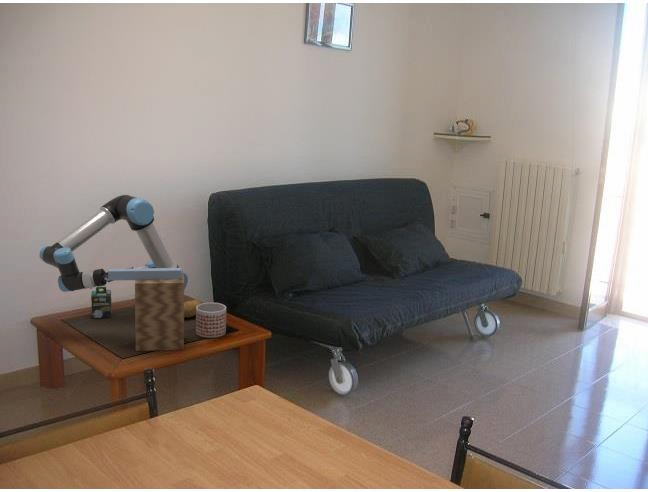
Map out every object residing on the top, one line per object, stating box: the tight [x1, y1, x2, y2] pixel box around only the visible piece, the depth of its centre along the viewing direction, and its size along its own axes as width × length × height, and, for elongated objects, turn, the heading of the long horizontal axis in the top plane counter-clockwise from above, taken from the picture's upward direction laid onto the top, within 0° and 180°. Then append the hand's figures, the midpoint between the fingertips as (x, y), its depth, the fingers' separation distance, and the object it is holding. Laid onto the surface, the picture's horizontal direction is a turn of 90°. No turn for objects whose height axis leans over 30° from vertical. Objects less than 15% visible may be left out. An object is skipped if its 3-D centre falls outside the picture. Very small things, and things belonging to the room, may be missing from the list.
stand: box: [134, 274, 185, 352], centre depth 281 cm, size 20×14×30 cm
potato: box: [184, 299, 202, 319], centre depth 319 cm, size 10×14×8 cm
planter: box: [195, 302, 227, 339], centre depth 299 cm, size 14×14×13 cm
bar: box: [107, 267, 182, 282], centre depth 275 cm, size 30×4×4 cm, turn 103°
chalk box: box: [90, 286, 113, 319], centre depth 314 cm, size 9×9×15 cm
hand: (148, 269), depth 282 cm, fingers closed
